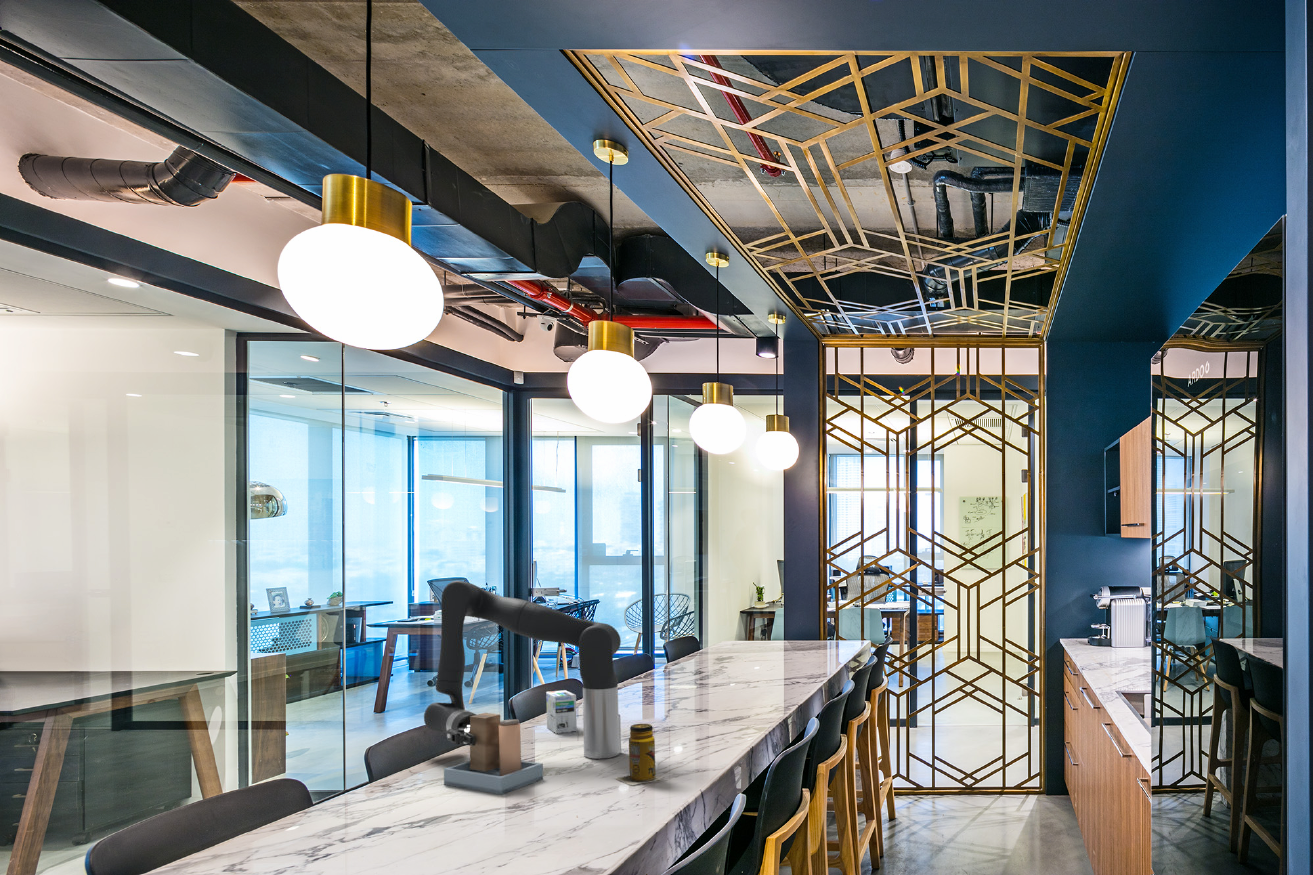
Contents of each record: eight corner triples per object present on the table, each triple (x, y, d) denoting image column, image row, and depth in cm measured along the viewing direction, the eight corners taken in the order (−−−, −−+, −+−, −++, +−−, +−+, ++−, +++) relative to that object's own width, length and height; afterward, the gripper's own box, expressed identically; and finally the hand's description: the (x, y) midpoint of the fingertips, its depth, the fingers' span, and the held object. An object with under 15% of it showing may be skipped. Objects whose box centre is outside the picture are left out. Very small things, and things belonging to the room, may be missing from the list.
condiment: (663, 779, 193) (661, 725, 195) (631, 786, 188) (630, 730, 190) (645, 773, 199) (644, 720, 201) (615, 779, 194) (614, 725, 196)
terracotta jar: (514, 775, 197) (512, 718, 200) (525, 777, 194) (524, 719, 196) (495, 779, 194) (494, 721, 197) (507, 781, 190) (505, 722, 193)
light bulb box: (577, 731, 247) (576, 694, 249) (555, 734, 245) (554, 696, 246) (567, 725, 257) (566, 689, 258) (545, 727, 254) (545, 691, 256)
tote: (487, 770, 206) (486, 755, 206) (542, 779, 196) (542, 763, 197) (444, 784, 194) (444, 768, 195) (501, 794, 185) (501, 778, 185)
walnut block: (485, 764, 202) (485, 712, 203) (500, 766, 199) (500, 714, 201) (469, 768, 198) (470, 716, 199) (485, 771, 195) (485, 718, 197)
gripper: (437, 715, 208) (459, 726, 194) (492, 707, 216) (517, 718, 202) (436, 746, 207) (459, 759, 193) (492, 738, 215) (517, 750, 201)
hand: (488, 738), depth 197 cm, fingers closed on walnut block, 6 cm apart
